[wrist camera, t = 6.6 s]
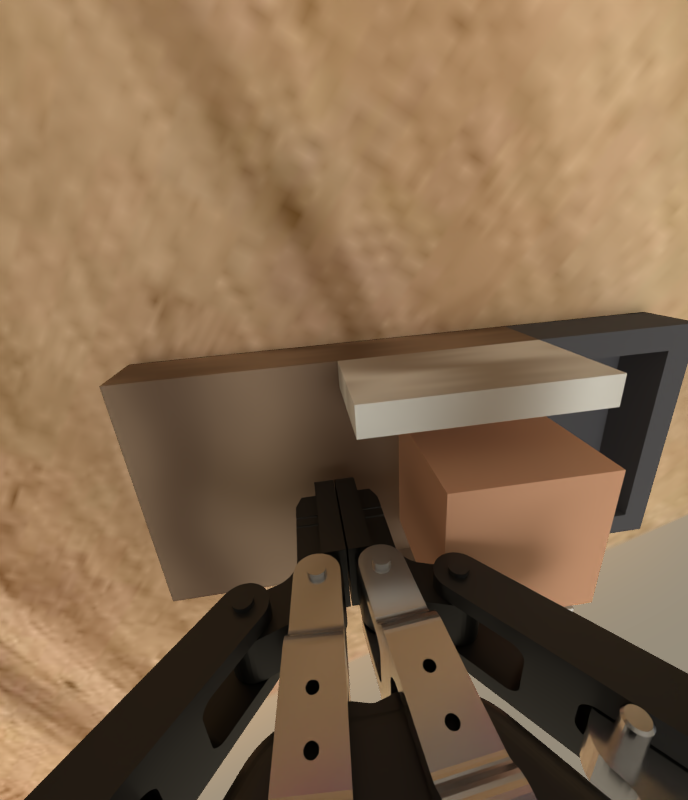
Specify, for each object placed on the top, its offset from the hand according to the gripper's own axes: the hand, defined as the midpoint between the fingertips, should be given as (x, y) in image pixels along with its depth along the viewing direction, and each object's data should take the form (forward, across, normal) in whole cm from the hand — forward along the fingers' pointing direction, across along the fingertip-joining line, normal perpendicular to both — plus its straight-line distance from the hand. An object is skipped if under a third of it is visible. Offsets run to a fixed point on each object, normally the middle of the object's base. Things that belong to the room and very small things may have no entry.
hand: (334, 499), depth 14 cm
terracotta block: (+1, -5, 0) cm, 5 cm away
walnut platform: (+4, 0, 0) cm, 4 cm away
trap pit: (+4, -11, 0) cm, 12 cm away
